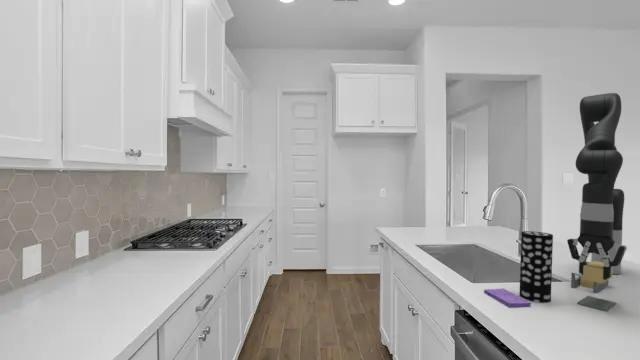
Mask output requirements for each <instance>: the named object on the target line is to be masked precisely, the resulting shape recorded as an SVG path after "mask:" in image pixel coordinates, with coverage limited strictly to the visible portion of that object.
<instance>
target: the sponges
mask: <svg viewBox="0 0 640 360" xmlns="http://www.w3.org/2000/svg"><path fill="white" fill-rule="evenodd" d="M483 294H486V295H487V296H488V297H490V298H492V299H494V300H496V301H497V302H499V303H500V304H502V305H504V306H506V307H508V308H510V309H511V308H531V307H532V301H529V300H526V299H524V298H522V297H520V295H518V294H515V293H513V292H511V291H510V290H508V289H506V288H489V289H487V288H486V289H484V290H483Z"/></svg>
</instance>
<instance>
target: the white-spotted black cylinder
mask: <svg viewBox="0 0 640 360" xmlns="http://www.w3.org/2000/svg"><path fill="white" fill-rule="evenodd" d="M520 233H521V234H520V260H519V261H520V263H519V265H520V267H519V293H518V294H519V295H518V296H519V297H521V298H522V299H525V300H527V301H529V302H535V303H550V302H551V301H552V274H553V270H552V269H553V250H554V249H553V247H554V246H553V242H554V235H553V234H552V233H549V232H542V231H541V232H540V231H533V230H532V231H530V230H525V231H520Z"/></svg>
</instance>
